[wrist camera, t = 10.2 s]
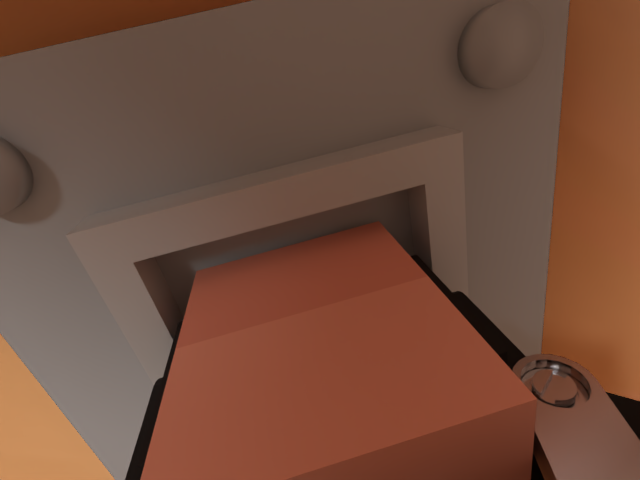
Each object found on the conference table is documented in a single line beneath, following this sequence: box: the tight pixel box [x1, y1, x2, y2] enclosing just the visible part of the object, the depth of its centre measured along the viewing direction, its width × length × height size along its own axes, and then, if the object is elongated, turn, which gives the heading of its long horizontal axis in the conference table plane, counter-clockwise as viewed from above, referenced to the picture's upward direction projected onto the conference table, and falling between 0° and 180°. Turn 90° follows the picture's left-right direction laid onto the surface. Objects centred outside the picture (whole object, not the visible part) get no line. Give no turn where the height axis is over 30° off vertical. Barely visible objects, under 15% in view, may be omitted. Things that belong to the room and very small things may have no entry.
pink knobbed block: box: [140, 221, 537, 480], centre depth 8 cm, size 5×5×7 cm
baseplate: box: [0, 0, 570, 480], centre depth 11 cm, size 16×16×2 cm
